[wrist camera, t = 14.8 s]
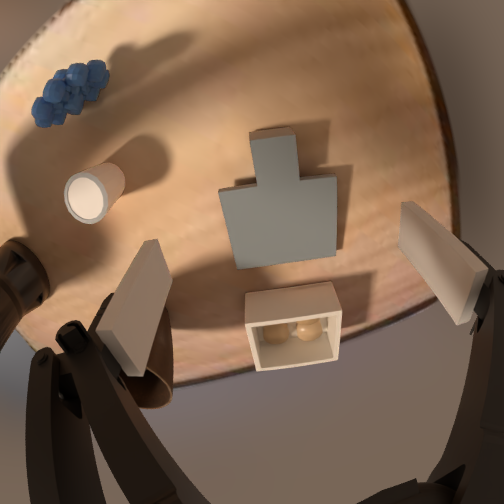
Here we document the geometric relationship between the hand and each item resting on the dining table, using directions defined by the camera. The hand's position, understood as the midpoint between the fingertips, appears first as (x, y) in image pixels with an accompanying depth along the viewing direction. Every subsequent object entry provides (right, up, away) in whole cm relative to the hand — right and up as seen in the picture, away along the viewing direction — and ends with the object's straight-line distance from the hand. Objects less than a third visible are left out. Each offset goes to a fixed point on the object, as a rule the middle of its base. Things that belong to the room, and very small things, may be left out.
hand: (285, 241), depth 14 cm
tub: (+5, -11, +33) cm, 36 cm away
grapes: (-23, +22, +14) cm, 35 cm away
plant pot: (-20, -11, +33) cm, 41 cm away
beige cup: (-22, +10, +21) cm, 32 cm away
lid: (+2, +7, +23) cm, 24 cm away
